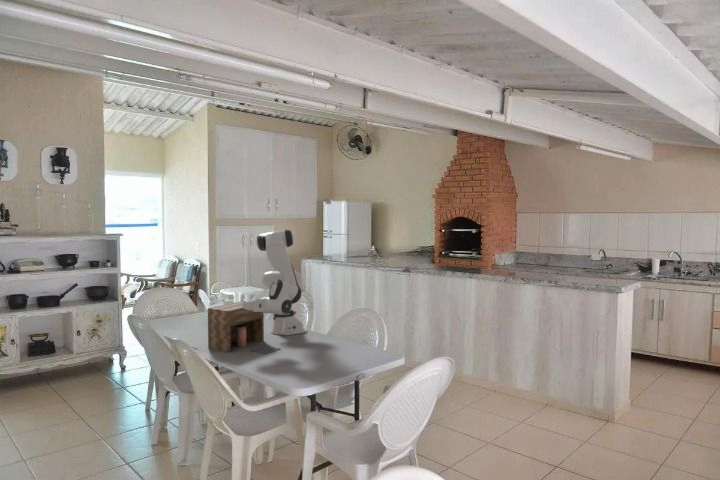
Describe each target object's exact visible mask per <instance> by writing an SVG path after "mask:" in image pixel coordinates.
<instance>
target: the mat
mask: <svg viewBox="0 0 720 480" xmlns="http://www.w3.org/2000/svg"><path fill="white" fill-rule="evenodd" d="M281 349H282V348H281V347H275V346H269V345H262V346H260V347H256V348H253V349H250V350H249V352H253V353H260V354H265V355H268V354H271V353H273V352H276V351H279V350H281Z"/></svg>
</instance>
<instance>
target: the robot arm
mask: <svg viewBox="0 0 720 480" xmlns="http://www.w3.org/2000/svg"><path fill="white" fill-rule="evenodd" d="M255 241H256V243H255V244H256V246H257V248H258V250H260V252H261V251H262V252H265V254H266V258H267V261H268V262H269V263H270V266H271V268H273V269H274V270H270V271H265V272H264V274H262V277H261V279H262V280H261V281H262V284H263V286H264V287H265V288H266V289H267V290H268V293H269V294H268V296H263V297H261V298H259V299H258V298H257V299H256V298H255V299H253V300H248V301H247V300H246V301H247V302H243V309H246V310H252V311H253V312H262V313H264V314H272V321H273V322H272V328H271V331H270V332H271V334H273V335H281V336H282V335H283V336H291V335H297V334H298V335H299V334H303V333H307V331H308V330H307V328H305V327H304V324H303V322H302V320H301V319H299V318H298V317H297V316H295V315H296V314H297V311H296V310H293V309H292V307H293V306H292V305H293V304H296V303H297V302H299V301H300V299H301V298H302V289H301V287H300V286H301V285H302V283H303V277H302V274H301V273H300V272H298V271H296V270H295V269H294V267H293V264H292V262H291V260H290V259H289V256H288V252H287V248H290V247H292V246H293V245H294V241H295V236H294V234H293V232H292V231H291V230H290V229H284V230H273V231H268V232H265V233H260V234H258V235H257V236H256V240H255Z"/></svg>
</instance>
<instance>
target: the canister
mask: <svg viewBox="0 0 720 480" xmlns="http://www.w3.org/2000/svg"><path fill="white" fill-rule="evenodd" d="M236 342H237V343H236V344H237V347H246V346H247V339H246V326H244V325H241V326H237V341H236Z"/></svg>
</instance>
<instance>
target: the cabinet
mask: <svg viewBox="0 0 720 480" xmlns="http://www.w3.org/2000/svg"><path fill="white" fill-rule="evenodd" d="M243 302H247V300H246V301H245V300H240V301H237V302H232V303H226V304H221V305H217V306H213V307H208V308H207V343H208V345H207V347H208V349H211V350H216V351H222V352H226V353H231V352H232V343H233V342H237V326H241V325H244V326H246V340H250V341H256V342H262V343H263V342H264V341H265V340H264V339H265V332H264V330H265V327H264V326H265V325H264V323H265V322H264V321H265V320H264V319H265V318H264V317H265V316H264V315H265V313H262V312H253V311H252V310H246V309H243Z"/></svg>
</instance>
